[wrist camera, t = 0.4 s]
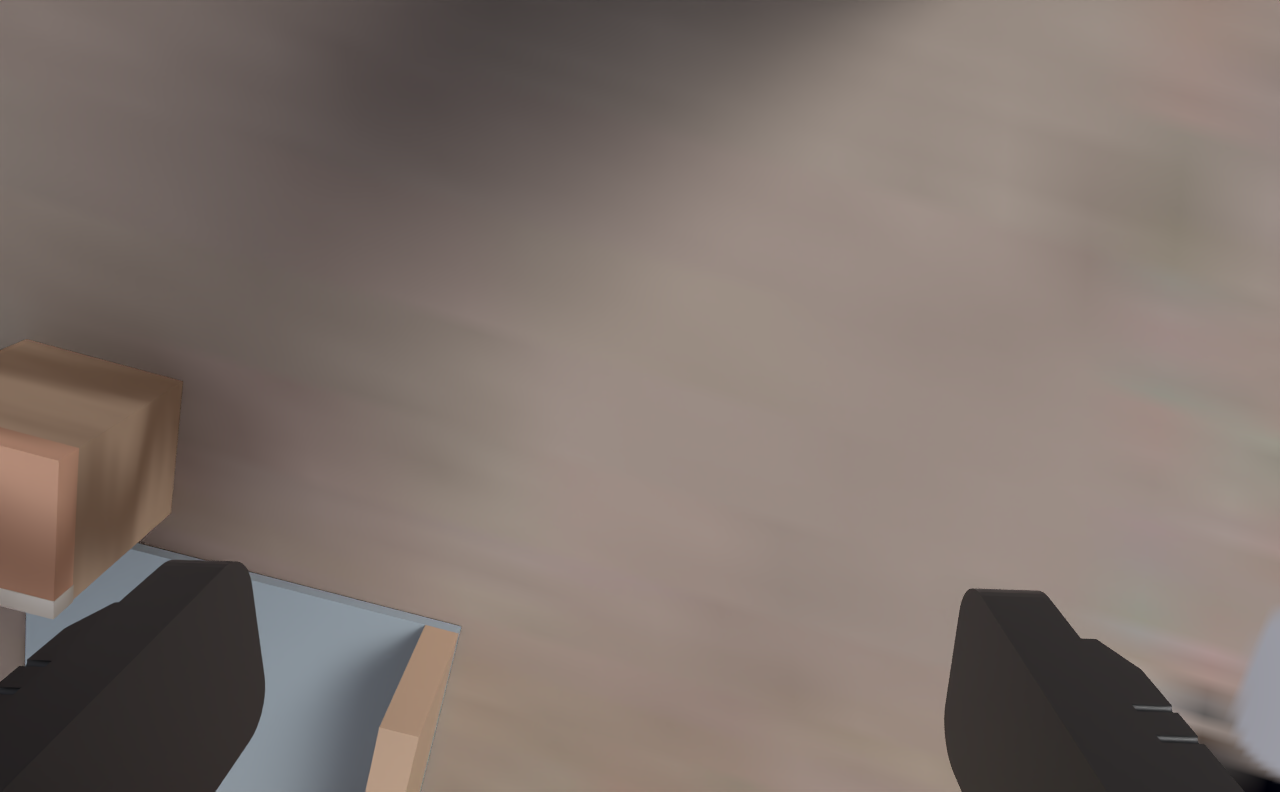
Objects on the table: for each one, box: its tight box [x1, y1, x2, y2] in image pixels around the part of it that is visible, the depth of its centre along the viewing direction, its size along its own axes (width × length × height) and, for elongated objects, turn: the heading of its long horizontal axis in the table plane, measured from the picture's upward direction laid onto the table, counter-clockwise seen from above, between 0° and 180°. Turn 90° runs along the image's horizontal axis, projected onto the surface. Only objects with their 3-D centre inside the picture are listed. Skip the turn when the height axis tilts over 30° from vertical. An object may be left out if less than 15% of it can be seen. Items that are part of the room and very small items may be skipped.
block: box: [0, 339, 183, 619], centre depth 26 cm, size 5×5×6 cm
